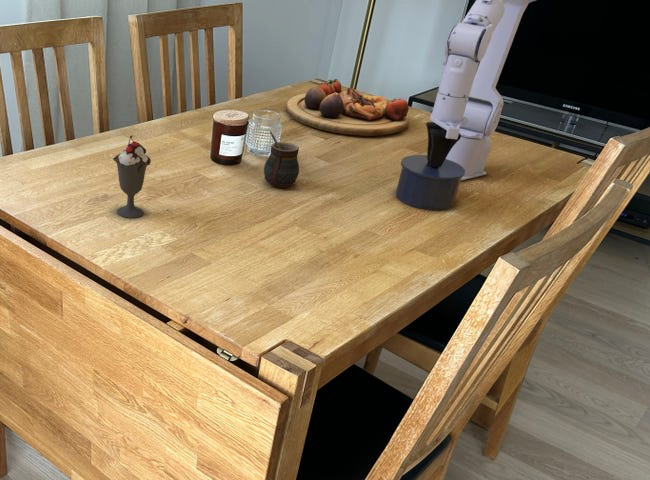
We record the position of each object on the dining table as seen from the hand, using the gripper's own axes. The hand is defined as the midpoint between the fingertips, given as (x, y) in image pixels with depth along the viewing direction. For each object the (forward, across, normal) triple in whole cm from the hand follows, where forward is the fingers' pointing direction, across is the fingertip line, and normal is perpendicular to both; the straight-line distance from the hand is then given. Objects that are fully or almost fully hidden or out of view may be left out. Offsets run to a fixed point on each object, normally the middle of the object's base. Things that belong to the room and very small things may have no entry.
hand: (433, 163), depth 144 cm
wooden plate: (+8, +52, +12) cm, 53 cm away
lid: (+1, 0, 0) cm, 1 cm away
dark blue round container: (+8, 0, 0) cm, 8 cm away
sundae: (+8, -22, +57) cm, 62 cm away
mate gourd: (+8, 0, +30) cm, 31 cm away
